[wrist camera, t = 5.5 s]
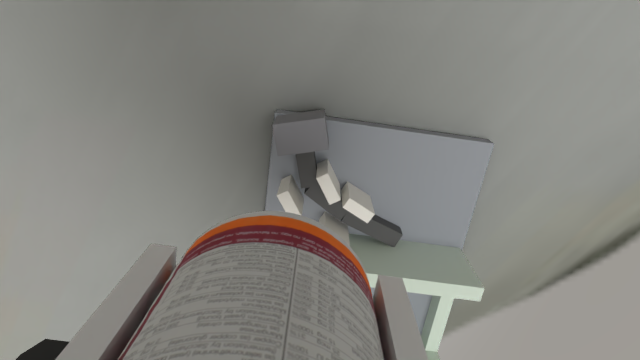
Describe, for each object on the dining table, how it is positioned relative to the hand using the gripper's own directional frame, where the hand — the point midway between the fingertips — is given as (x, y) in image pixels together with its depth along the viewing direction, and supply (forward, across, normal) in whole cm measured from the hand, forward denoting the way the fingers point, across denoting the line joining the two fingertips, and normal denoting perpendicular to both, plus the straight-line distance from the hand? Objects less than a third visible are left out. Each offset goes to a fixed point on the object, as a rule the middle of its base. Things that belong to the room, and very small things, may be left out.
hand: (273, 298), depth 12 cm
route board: (+17, +6, -6) cm, 19 cm away
